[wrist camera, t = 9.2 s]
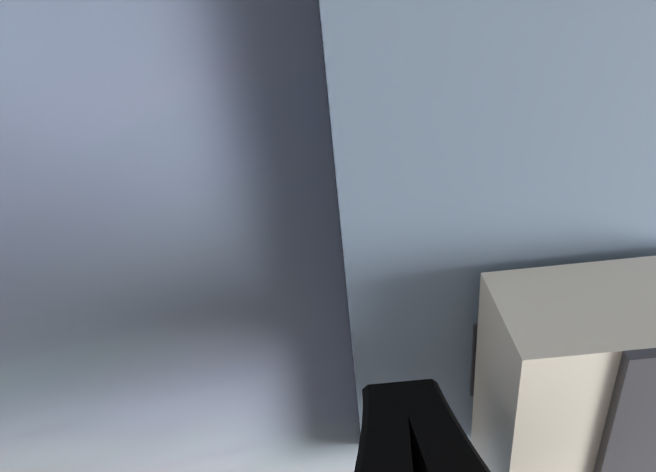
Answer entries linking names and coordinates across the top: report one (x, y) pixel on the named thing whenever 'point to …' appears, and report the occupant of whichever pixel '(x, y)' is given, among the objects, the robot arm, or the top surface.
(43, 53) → the top surface
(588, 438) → the knob
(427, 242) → the switch unit
